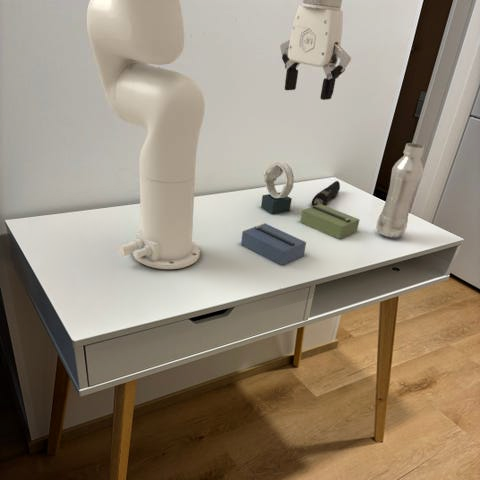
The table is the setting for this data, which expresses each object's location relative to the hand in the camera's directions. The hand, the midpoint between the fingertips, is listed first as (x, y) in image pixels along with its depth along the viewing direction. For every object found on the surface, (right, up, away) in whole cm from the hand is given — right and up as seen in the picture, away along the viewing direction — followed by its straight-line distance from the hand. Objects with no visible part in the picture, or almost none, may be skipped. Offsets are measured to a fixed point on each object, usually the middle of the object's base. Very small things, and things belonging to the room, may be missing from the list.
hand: (307, 94), depth 105 cm
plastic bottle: (+19, -29, +7) cm, 36 cm away
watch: (-6, -22, +13) cm, 26 cm away
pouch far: (+6, -27, +7) cm, 29 cm away
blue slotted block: (-8, -34, -6) cm, 36 cm away
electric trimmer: (+8, -17, +22) cm, 29 cm away
